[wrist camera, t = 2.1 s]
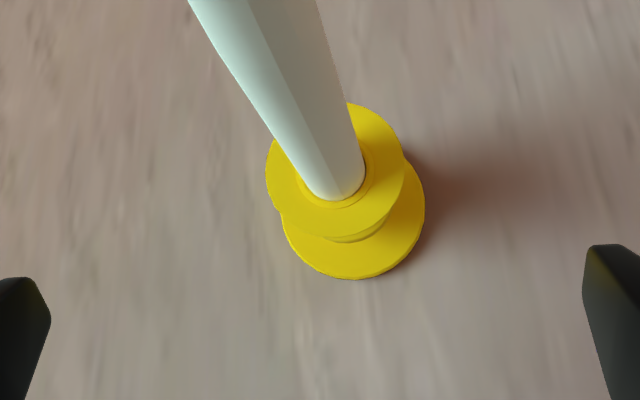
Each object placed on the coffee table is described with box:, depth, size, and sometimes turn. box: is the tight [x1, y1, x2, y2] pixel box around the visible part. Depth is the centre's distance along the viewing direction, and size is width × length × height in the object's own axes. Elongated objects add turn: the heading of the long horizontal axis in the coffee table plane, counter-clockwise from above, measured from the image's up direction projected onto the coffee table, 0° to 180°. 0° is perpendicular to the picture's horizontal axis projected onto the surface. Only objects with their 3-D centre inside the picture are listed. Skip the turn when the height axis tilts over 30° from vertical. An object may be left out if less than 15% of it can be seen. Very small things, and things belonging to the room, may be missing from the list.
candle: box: [188, 0, 425, 280], centre depth 13 cm, size 5×5×16 cm
